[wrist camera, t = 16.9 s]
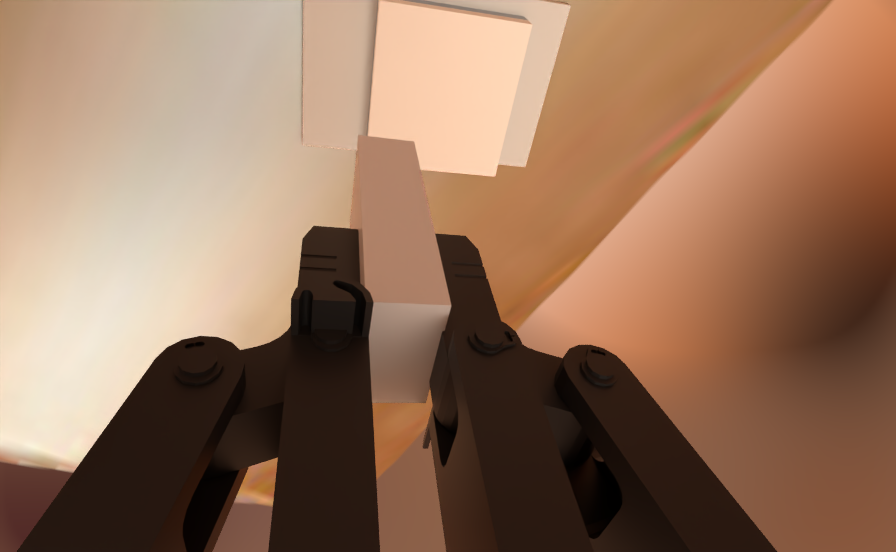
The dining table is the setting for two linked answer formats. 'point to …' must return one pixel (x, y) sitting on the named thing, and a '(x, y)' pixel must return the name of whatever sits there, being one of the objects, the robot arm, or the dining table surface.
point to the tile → (446, 81)
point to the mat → (351, 56)
